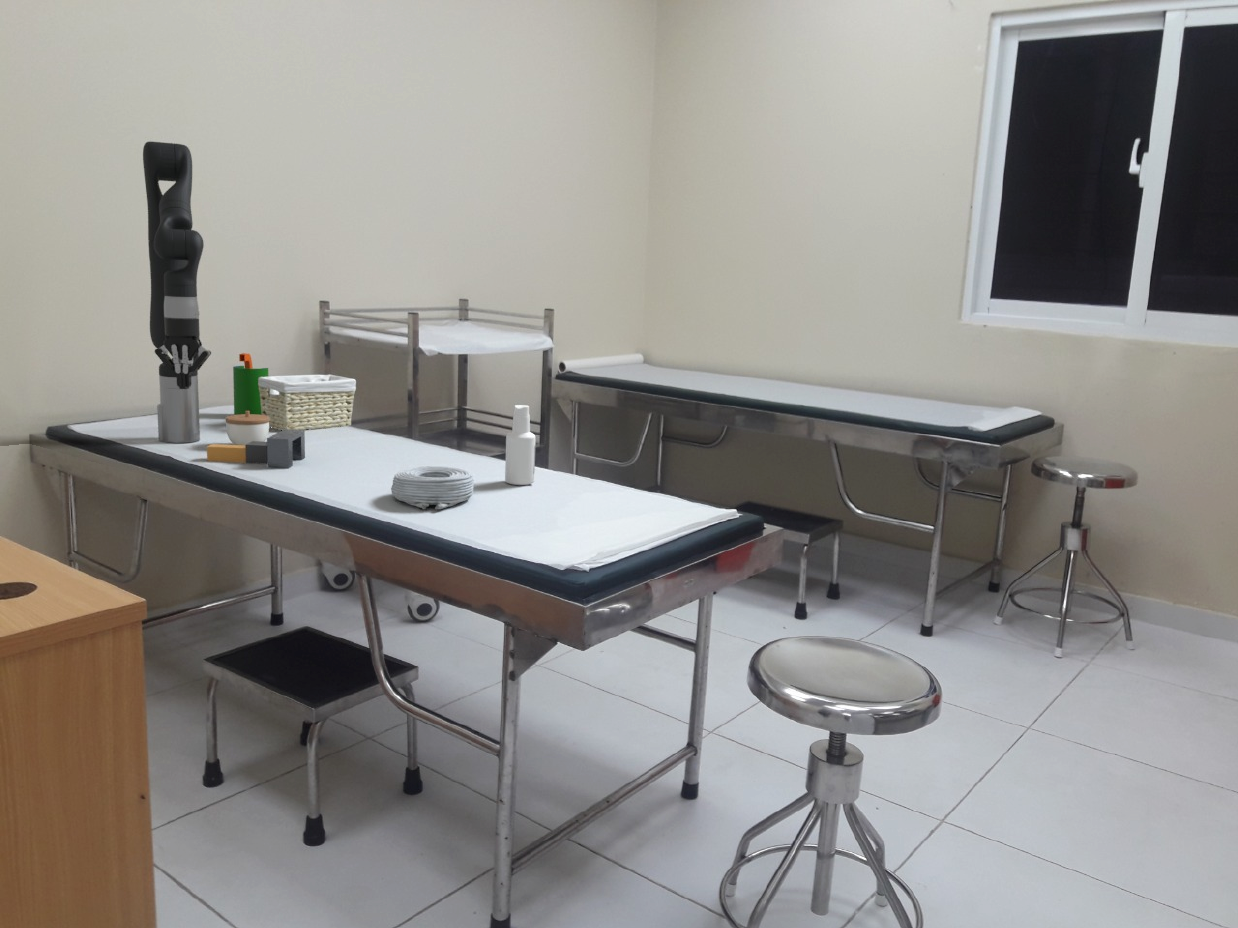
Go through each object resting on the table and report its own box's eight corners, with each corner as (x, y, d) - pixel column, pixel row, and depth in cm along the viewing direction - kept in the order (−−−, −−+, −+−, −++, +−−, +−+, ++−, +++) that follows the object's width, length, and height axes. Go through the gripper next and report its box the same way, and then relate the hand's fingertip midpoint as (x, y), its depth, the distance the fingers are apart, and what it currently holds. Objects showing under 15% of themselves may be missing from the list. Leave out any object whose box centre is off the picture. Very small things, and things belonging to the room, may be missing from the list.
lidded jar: (251, 452, 251) (250, 415, 249) (217, 447, 254) (215, 411, 252) (278, 445, 261) (278, 410, 259) (245, 441, 264) (244, 406, 262)
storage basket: (329, 420, 305) (329, 372, 302) (358, 427, 294) (358, 378, 291) (256, 426, 288) (255, 376, 285) (284, 435, 277) (283, 382, 274)
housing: (267, 467, 234) (266, 438, 232) (284, 456, 246) (284, 429, 245) (288, 468, 234) (288, 439, 232) (304, 457, 247) (304, 430, 245)
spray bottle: (538, 481, 233) (541, 405, 230) (526, 486, 227) (529, 409, 223) (512, 477, 235) (514, 403, 232) (499, 483, 229) (501, 406, 225)
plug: (206, 461, 237) (205, 443, 236) (214, 457, 242) (213, 439, 241) (266, 464, 238) (266, 445, 237) (273, 460, 242) (273, 442, 242)
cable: (434, 513, 200) (434, 484, 199) (372, 499, 209) (372, 471, 208) (489, 498, 215) (490, 471, 214) (429, 486, 224) (430, 459, 223)
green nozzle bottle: (273, 417, 304) (272, 352, 300) (260, 422, 295) (259, 355, 291) (242, 415, 304) (240, 351, 301) (228, 420, 296) (226, 353, 292)
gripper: (146, 315, 229) (149, 389, 232) (203, 318, 229) (206, 392, 233) (160, 313, 236) (163, 385, 240) (216, 316, 237) (218, 388, 240)
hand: (184, 388), depth 236 cm, fingers closed
